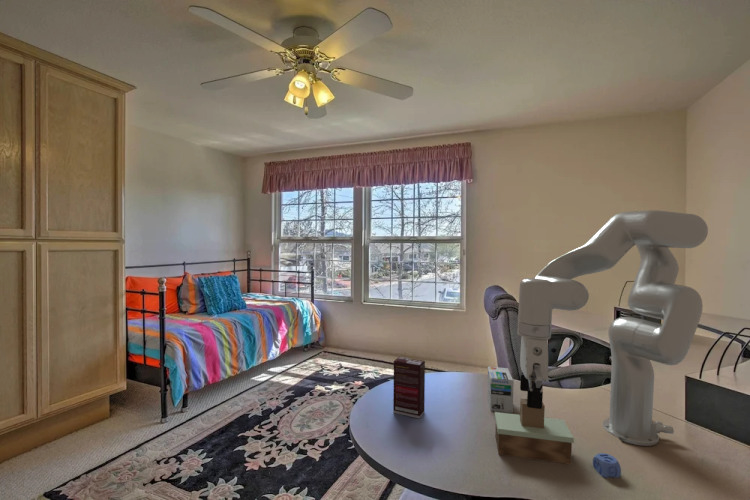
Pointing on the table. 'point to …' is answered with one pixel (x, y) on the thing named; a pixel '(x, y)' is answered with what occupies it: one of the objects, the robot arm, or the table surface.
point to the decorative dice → (606, 465)
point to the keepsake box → (533, 448)
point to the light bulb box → (500, 389)
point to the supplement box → (409, 387)
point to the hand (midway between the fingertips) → (530, 398)
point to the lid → (532, 424)
